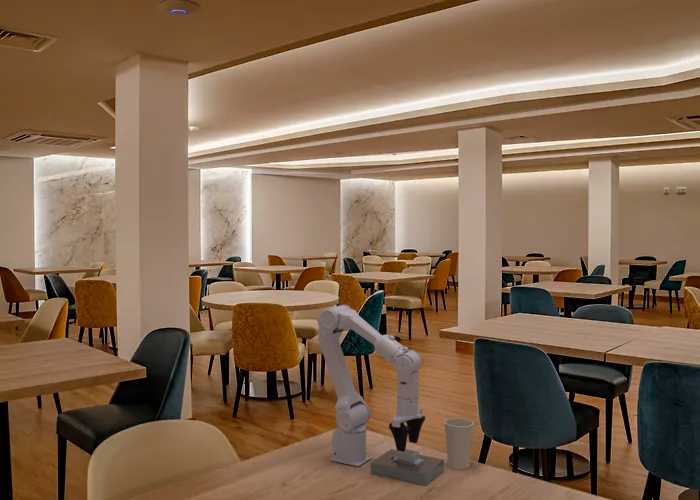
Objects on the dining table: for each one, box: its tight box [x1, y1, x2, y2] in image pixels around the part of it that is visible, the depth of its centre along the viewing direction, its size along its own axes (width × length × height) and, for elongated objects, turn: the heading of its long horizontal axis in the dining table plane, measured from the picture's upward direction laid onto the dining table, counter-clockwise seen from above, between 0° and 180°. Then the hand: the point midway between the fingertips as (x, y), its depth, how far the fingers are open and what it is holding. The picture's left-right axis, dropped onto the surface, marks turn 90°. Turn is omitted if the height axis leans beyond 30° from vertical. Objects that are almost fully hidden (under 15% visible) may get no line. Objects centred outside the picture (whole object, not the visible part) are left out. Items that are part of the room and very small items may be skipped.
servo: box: [393, 448, 423, 466], centre depth 169 cm, size 8×3×6 cm, turn 58°
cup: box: [444, 417, 475, 470], centre depth 174 cm, size 8×8×12 cm
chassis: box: [370, 448, 445, 486], centre depth 169 cm, size 16×12×3 cm
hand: (407, 446), depth 169 cm, fingers open, 7 cm apart
